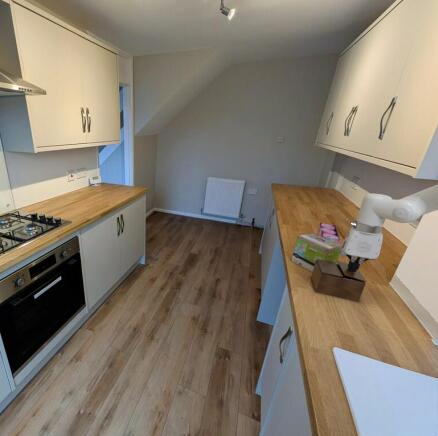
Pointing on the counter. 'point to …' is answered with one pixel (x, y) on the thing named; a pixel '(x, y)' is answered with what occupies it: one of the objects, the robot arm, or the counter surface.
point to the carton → (335, 281)
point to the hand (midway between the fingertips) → (352, 270)
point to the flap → (350, 273)
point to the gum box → (328, 232)
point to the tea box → (314, 250)
